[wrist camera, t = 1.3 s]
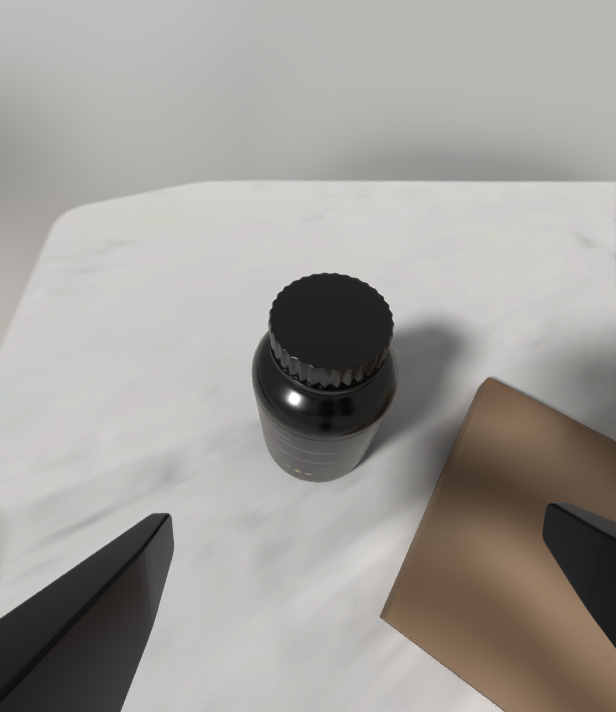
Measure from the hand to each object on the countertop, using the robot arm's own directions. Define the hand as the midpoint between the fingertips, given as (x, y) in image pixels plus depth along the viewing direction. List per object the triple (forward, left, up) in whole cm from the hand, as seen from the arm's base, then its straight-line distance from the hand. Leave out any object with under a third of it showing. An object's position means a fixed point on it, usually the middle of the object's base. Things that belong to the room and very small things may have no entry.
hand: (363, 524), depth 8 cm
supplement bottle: (+6, +4, -13) cm, 15 cm away
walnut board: (+8, -11, -13) cm, 19 cm away
